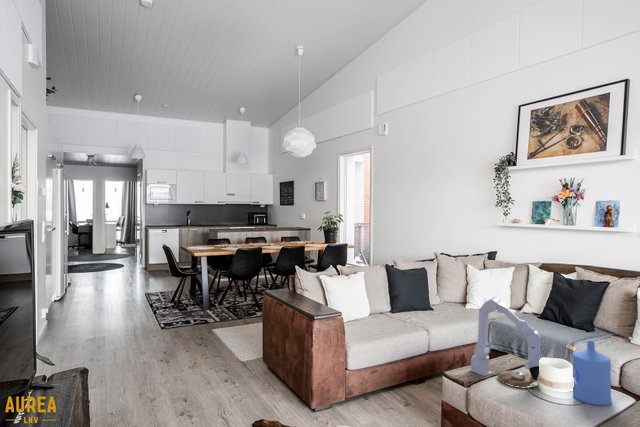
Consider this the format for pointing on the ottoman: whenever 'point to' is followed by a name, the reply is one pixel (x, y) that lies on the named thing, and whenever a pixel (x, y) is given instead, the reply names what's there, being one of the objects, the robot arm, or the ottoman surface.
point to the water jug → (592, 376)
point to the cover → (518, 375)
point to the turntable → (506, 378)
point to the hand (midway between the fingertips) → (534, 379)
